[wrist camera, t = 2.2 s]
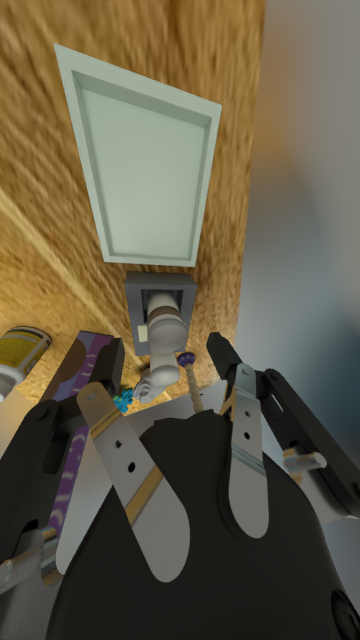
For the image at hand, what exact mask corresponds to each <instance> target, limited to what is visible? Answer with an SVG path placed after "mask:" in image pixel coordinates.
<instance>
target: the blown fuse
mask: <svg viewBox="0 0 360 640" xmlns="http://www.w3.org/2000/svg"><path fill="white" fill-rule="evenodd" d="M147 297H148V318H147V331H148V333H147V342H148V345H149V347H150V348H151V349H153V350H154V351H157V352H161V353H169V352H173V351H176V350H178V349H180V348H181V347H183V346H184V345H185V343H186V342H187V339H188V333H187V330H186V328H185V325H184V322H183V319H182V316H181V314H180V312H179V309H178V306H177V304H176V301H175V298H174V295H173V292H172V290H161V289H150V290H149V291H148V296H147Z"/></svg>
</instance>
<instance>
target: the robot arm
mask: <svg viewBox="0 0 360 640" xmlns="http://www.w3.org/2000/svg"><path fill="white" fill-rule="evenodd" d="M206 347H207V350H208V352H209V354H210V357H211V359H212V361H213V363H214V365H215V367H216V370H217V372H218V374H219V376H220V378H221V380H227V384H226V389H225V395H224V400H223V405H222V408H221V410H220V414H216V413H214V411H213V409H209V410H205V411H200V412H198V413H196V414H194V415H193V416H191V417H189V418H188V419H176V418H166V419H161V420H156V421H154V425H153V426H151V427H149V428H148V429H147V430H146V431H145V432H144V433H143V434H142V435H141V436H140V437H139V439H138V437H137V436H136V434H135V433H134V431H133V429H132V428H131V426H130V425H129V423H128V422H127V420H126V419H125V417H124V416H123V414H122V413H121V411H120V410H119V409H118V408H117V406H116V405H115V403H114V402H113V396H118V393H119V387H120V381H121V375H122V369H123V363H124V357H125V350H124V345H123V341H122V338H111V341H110V344H109V345H104V346H103V347H102V348H101V350H100V351H99V354H98V357H97V359H96V362H95V365H94V367H93V370H92V373H91V375H90V378H89V381H88V383H87V385H86V386H84V387H83V388H82V389H81V390H80V391H79V392H78V393H77V394H75V395H73V396H70V397H68V398H66V399H63V400H61V401H58V402H57V401H56V400H54V399H49V400H45V401H42V402H40V403H39V404H37V405H36V406H34V407H33V408H32V409H31V410H30V411H29V412H28V413H27V414H26V416H25V417H24V419H23V421H22V423H21V424H20V426H19V428H18V430H17V431H16V433H15V435H14V437H13V439H12V440H11V442H10V444H9V446H8V447H7V449H6V451H5V453H4V454H3V456H2V458H1V460H0V640H360V617H359V615H358V613H357V612H356V610H355V609H354V606H353V605H352V603H351V601H350V599H349V597H348V595H347V594H346V591H345V589H344V587H343V585H342V583H341V580H340V578H339V576H338V573H337V571H336V568H335V566H334V563H333V561H332V558H331V555H330V553H329V549H328V547H327V543H326V541H325V537H324V533H323V530H322V527H321V525H324V524H327V523H330V522H333V521H336V520H338V519H341V518H344V517H347V518H356V519H360V471H359V470H358V468H357V467H356V466H355V465H354V464H353V462H352V461H351V460H350V458H349V457H348V456H347V455H346V454H345V452H344V451H343V450H342V449H341V447H340V446H339V445H338V444H337V443H336V441H335V440H334V439H333V438H332V436H331V435H330V434H329V433H328V431H327V430H326V429H325V428H324V427H323V425H322V424H321V423H320V422H319V420H318V419H317V418H316V417H315V415H314V414H313V413H312V412H311V410H310V409H309V408H308V407H307V406H306V404H305V403H304V402H303V401H302V399H301V398H300V397H299V396H298V394H296V392H295V391H294V390H293V388H292V387H291V386H290V385H289V383H288V382H287V381H286V380H285V378H284V377H283V376H282V375H281V374H280V373H279V372H278V371H276V370H274V369H266V370H265V371H264V372H262V371H257V370H253V368H251V367H250V366H249V365H247V364H244V363H243V362H242V360H241V359H240V357H239V356H238V354H237V353H236V352H235V350H234V349H233V347H232V346H231V344H230V343H229V341H228V340H227V339H226V338H224V337H222V336H221V335H220V333H219V332H211V333H210V334H209V337H208V340H207V344H206ZM272 394H273V395H274V397H275V398H276V400H277V401H278V402H279V404H280V405H281V407H282V409H283V412H282V410H281V409H280V407H279V406H278V404H277V403H276V401H275V400H274V398H273V397H272ZM261 412H262V413H263V415H264V417H265V419H266V421H267V423H268V425H269V426H270V428H271V430H272V432H273V434H274V435H275V437H276V439H277V441H278V443H279V445H280V446H281V448H282V450H283V456H284V461H283V464H284V467H285V469H286V470H287V471H288V472H289V475H288V474H287V473H286V472H285V471H284V470H283V469H282V468H281V467H279V466H278V465H277V464H276V463H275V462H274V461H273V460H272V459H271V458H270V457H269V456H268V455H266V454H265V453H264V452H263V451H262V433H261ZM86 425H88V427H89V429H90V431H91V437H92V439H93V442H94V444H95V446H96V448H97V450H98V453H99V454H100V457H101V459H102V461H103V463H104V466H105V468H106V469H107V472H108V474H109V476H110V479H111V481H112V483H113V485H112V487H111V489H110V491H109V492H108V494H107V496H106V498H105V500H104V502H103V504H102V505H101V507H100V509H99V511H98V513H97V515H96V516H95V518H94V520H93V522H92V524H91V525H90V527H89V529H88V531H87V533H86V534H85V536H84V538H83V540H82V542H81V544H80V545H79V547H78V549H77V551H76V553H75V555H74V556H73V558H72V560H71V562H70V564H69V566H68V568H67V570H66V572H65V575H63V574H61V573H60V572H59V571H58V569H57V566H56V549H57V543H58V536H57V532H56V530H55V528H54V527H52V526H48V523H49V519H50V516H51V512H52V509H53V505H54V502H55V499H56V495H57V492H58V488H59V485H60V481H61V478H62V474H63V471H64V468H65V464H66V461H67V457H68V454H69V450H70V447H71V444H72V440H73V437H74V433H75V431H77V430H79V429H80V428H82V427H84V426H86Z"/></svg>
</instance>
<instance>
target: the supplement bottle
mask: <svg viewBox="0 0 360 640" xmlns="http://www.w3.org/2000/svg"><path fill="white" fill-rule="evenodd" d="M50 344H51V340H50V338H49V337H48V336H47V335H46V334H45V333H43V332H42V331H40V330H37V329H34V328H29V327H17V328H13V329H11V330H9V331H8V332H6V333H5V334H4V335H3V336H2V337H1V338H0V402H2V401H3V400H4V399H5V398H6V397H7V395H8V394H9V393H10V392H11V391H12V389H13V387H14V386H16V385H18V384H20V383H21V382H23V381H24V379H25V378H26V377H27V376H28V374H29V373H30V371H31V370H32V369H33V367H34V366H35V365H36V363H37V362H38V361H39V359H40V358H41V357H42V355H43V354H44V353H45V351H46V350H47V349H48V347H49V346H50Z"/></svg>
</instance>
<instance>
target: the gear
mask: <svg viewBox="0 0 360 640" xmlns="http://www.w3.org/2000/svg"><path fill="white" fill-rule="evenodd" d="M133 393H134V392H133V390H132V389H131V388H130V389H129V390H128V391H127V390H123V392H122V394H121V396H119V395H118V396H113V402H114V403H115V405H116V406H117V408H118V409H119V410H120V411H121V413H122V412H124V413H126V412H127V410H128V408H127V407H126V406H127V405H128V404H129V405H130V404H131V403H132V402H133V399H132V398H133Z"/></svg>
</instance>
